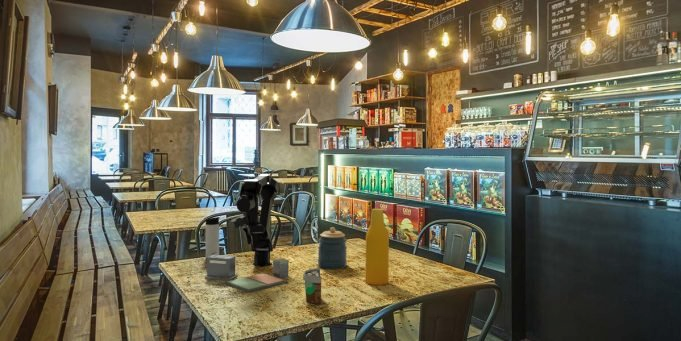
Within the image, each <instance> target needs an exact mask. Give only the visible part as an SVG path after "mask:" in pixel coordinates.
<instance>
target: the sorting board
mask: <svg viewBox="0 0 681 341" xmlns="http://www.w3.org/2000/svg"><path fill="white" fill-rule="evenodd" d="M287 283H288V280H286V279H284V278H281V279H280V278H277V277H273V275H269V274H268V273H267V274H266V273H264V272H263V273H257V274H253V275H250V276H244V277H241V278H234V279H232V280H230V281H227V280H225V281H224V285H226V286H230V287H232V288H236V289H238V290H240V291H243V292H246V293H253V292H257V291H261V290H265V289H269V288H273V287H276V286H281V285H284V284H287Z"/></svg>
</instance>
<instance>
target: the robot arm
mask: <svg viewBox="0 0 681 341" xmlns="http://www.w3.org/2000/svg"><path fill="white" fill-rule="evenodd" d="M279 189H280V187H279V184H278V182H277V180H276V179H274V178H273V177H272V175H271V174H270V173H269V174H268V173H260V174H259V175H257V176H256V177H255V178H253V179H244V180H243V182H242V183H241V187H240V191H239V195H238V196H239V197H240V199H238V201H237V202H236V208H237V210H238V211H239V212H240V213H242V215H240V216H237V217H235V218H233V219H231V220H230V222H231V225H232V227H233V228H234V229H238V228H240V229H241V230H242V231H243V232H244V235H245V239H246V244H247V245H251V251H252V252H254V255H253V262H252V265H255V266H258V267H265V266H270V265H273V262H271V252H273V251H274V244H273V242H272V239H271V235H270V232H269V229H270V228H269V226H270V220H271V212H272V206H273V201H274V200H275V199H276V198H277V196H278V193H279V191H280V190H279ZM260 196H261V198H262V199H261V200H262V201H261V207H260V208H259V205H260V204H259V203H260V201H259V200H260V199H259V198H260ZM259 209H260V211H259Z"/></svg>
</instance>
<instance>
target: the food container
mask: <svg viewBox="0 0 681 341" xmlns="http://www.w3.org/2000/svg"><path fill="white" fill-rule="evenodd" d="M302 280H303V281H304V289H305V290H304V291H305V302H306V303H307V304H309V305H312V306H322V276H321V267H316V268H315V267H314V268H310V269H306V270H305V271H304V273H303V275H302Z"/></svg>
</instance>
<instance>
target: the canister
mask: <svg viewBox="0 0 681 341" xmlns="http://www.w3.org/2000/svg"><path fill="white" fill-rule="evenodd" d="M319 236H320V237H319V238H318V240H317V241H318V244H319V245H318V246H317V249H318V253H317V254H318V257H317V258H318V260H317V265H318V268H320V269H321V268H322V269H327V270H339V269H343V268H346V266H347V248H348V247H347V244H346V243H347V241H348V239H347V238H345V237H346V234H345V233H344V232H342V231H339V230H336V228H335V227H334V226H332V227H330V228H329V230H325V231H323V232H322V233H320V234H319Z"/></svg>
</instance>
